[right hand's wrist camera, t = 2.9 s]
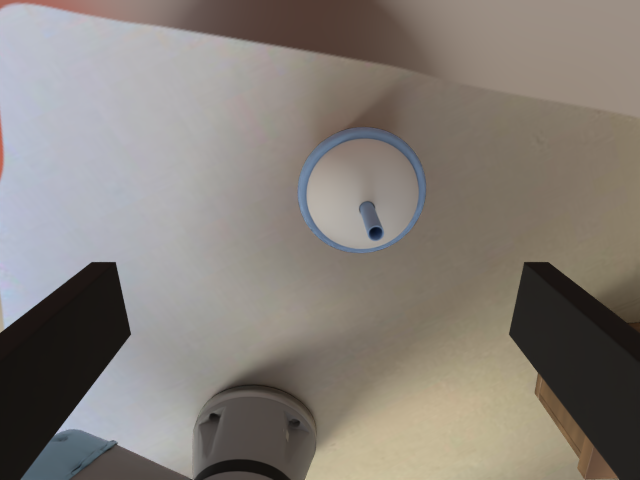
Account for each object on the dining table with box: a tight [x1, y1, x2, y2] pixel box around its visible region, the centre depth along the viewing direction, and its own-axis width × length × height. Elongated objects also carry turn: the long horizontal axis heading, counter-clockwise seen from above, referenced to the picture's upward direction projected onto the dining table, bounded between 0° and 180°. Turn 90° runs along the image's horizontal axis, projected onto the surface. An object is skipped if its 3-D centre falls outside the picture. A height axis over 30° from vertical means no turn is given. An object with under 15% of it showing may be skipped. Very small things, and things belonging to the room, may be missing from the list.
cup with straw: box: [298, 127, 426, 253], centre depth 29 cm, size 9×9×18 cm
